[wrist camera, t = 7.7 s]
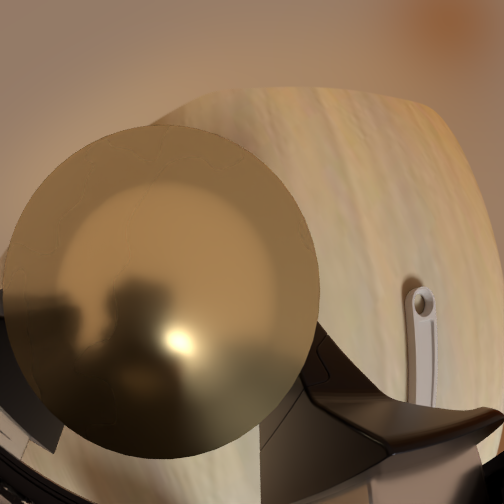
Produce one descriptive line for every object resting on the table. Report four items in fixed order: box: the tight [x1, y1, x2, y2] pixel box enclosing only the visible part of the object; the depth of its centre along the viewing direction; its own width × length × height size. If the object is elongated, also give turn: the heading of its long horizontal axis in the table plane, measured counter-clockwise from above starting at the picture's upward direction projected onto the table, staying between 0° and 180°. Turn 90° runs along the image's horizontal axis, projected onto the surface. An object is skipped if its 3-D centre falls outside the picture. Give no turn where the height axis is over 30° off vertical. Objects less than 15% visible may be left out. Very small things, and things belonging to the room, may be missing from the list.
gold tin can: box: [3, 125, 320, 459], centre depth 9 cm, size 5×5×12 cm
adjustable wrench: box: [405, 286, 438, 408], centre depth 15 cm, size 25×6×2 cm, turn 178°
